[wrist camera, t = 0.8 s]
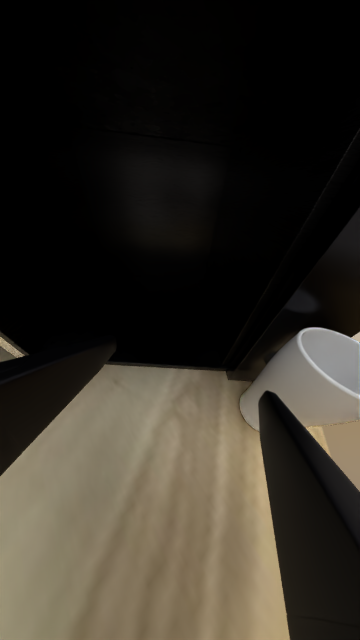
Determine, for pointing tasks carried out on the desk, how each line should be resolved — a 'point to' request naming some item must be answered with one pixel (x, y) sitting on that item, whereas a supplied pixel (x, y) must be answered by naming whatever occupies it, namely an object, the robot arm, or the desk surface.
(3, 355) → the microwave door
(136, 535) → the desk surface
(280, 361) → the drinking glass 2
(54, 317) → the microwave
